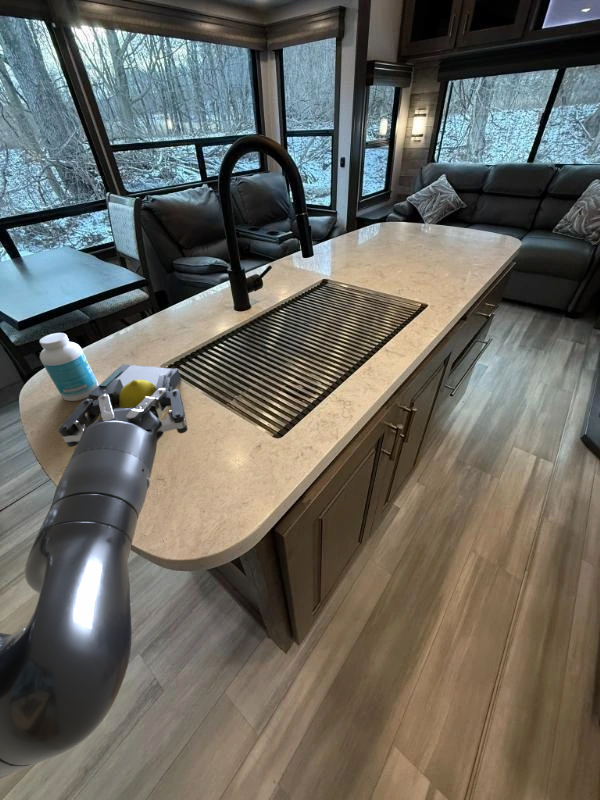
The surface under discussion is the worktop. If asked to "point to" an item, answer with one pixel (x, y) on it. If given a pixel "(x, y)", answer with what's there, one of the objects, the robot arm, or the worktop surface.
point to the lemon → (135, 393)
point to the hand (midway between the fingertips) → (141, 382)
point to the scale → (136, 377)
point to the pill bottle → (67, 367)
